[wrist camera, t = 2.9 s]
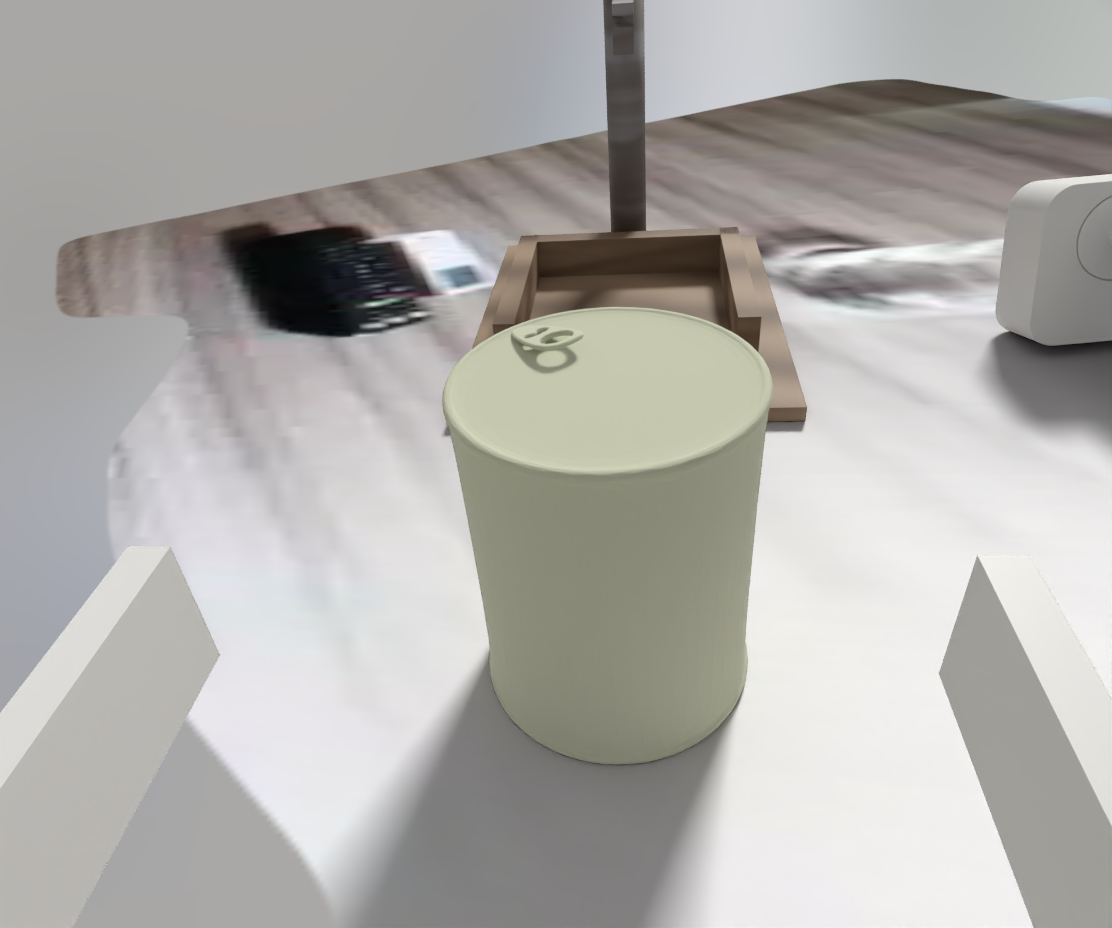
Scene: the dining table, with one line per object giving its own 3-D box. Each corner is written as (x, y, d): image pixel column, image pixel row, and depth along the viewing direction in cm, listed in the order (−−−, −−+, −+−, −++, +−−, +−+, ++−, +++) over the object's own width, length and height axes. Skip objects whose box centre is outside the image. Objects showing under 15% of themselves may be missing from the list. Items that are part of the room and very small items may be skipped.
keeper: (805, 420, 40) (853, 46, 30) (451, 425, 42) (389, 77, 32) (753, 246, 59) (773, -21, 49) (509, 256, 61) (481, 1, 51)
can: (625, 533, 34) (617, 267, 27) (802, 661, 28) (851, 360, 21) (442, 645, 30) (376, 363, 23) (603, 823, 24) (581, 514, 17)
